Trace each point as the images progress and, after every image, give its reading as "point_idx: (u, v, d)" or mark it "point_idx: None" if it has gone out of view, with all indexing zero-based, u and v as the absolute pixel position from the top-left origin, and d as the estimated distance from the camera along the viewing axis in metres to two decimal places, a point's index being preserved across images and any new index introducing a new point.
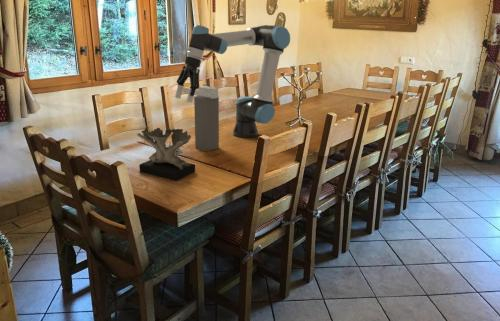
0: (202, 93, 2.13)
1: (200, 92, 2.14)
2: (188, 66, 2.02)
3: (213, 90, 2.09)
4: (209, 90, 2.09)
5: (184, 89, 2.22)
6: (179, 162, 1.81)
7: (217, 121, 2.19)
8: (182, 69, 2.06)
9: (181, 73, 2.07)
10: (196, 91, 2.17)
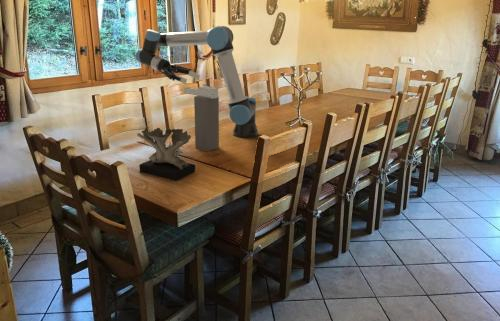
0: (202, 93, 2.13)
1: (200, 92, 2.14)
2: None
3: (213, 90, 2.09)
4: (209, 90, 2.09)
5: (184, 89, 2.22)
6: (179, 162, 1.81)
7: (217, 121, 2.19)
8: (177, 69, 2.35)
9: None
10: (196, 91, 2.17)
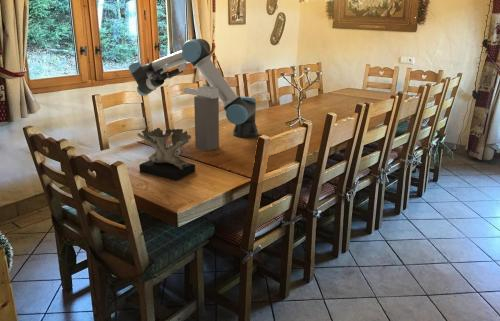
0: (202, 93, 2.13)
1: (200, 92, 2.14)
2: (162, 79, 2.36)
3: (213, 90, 2.09)
4: (209, 90, 2.09)
5: (184, 89, 2.22)
6: (179, 162, 1.81)
7: (217, 121, 2.19)
8: (171, 77, 2.39)
9: (173, 75, 2.37)
10: (196, 91, 2.17)
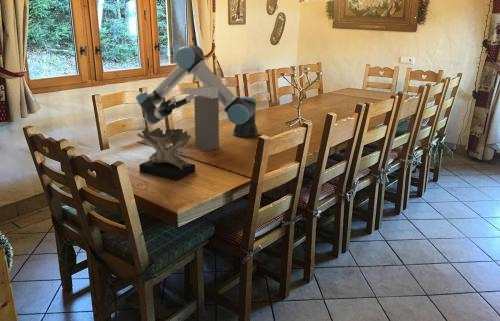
0: (202, 93, 2.13)
1: (200, 92, 2.14)
2: (170, 109, 2.38)
3: (213, 90, 2.09)
4: (209, 90, 2.09)
5: (184, 89, 2.22)
6: (179, 162, 1.81)
7: (217, 121, 2.19)
8: (179, 106, 2.40)
9: (181, 105, 2.39)
10: (196, 91, 2.17)
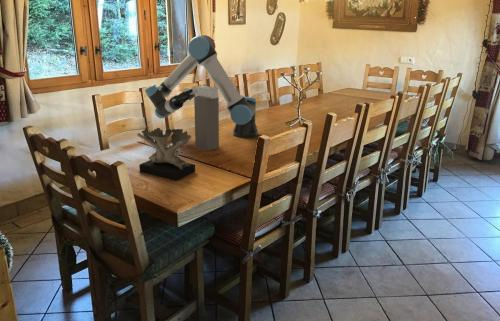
0: (202, 93, 2.13)
1: (200, 92, 2.13)
2: (181, 102, 2.31)
3: (213, 90, 2.09)
4: (209, 90, 2.09)
5: (184, 89, 2.22)
6: (179, 162, 1.81)
7: (217, 121, 2.19)
8: (191, 98, 2.31)
9: (191, 97, 2.29)
10: (196, 91, 2.17)
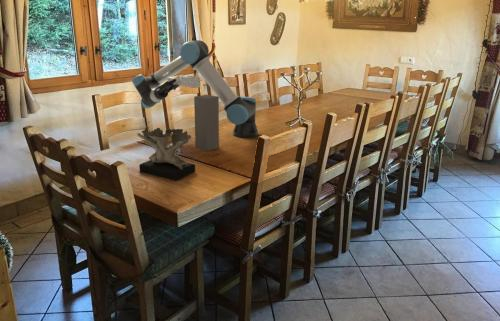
0: (185, 82, 2.19)
1: (183, 82, 2.20)
2: (166, 92, 2.38)
3: (195, 79, 2.16)
4: (191, 79, 2.15)
5: (168, 79, 2.29)
6: (179, 162, 1.81)
7: (217, 121, 2.19)
8: (175, 88, 2.37)
9: (176, 87, 2.35)
10: (179, 81, 2.23)
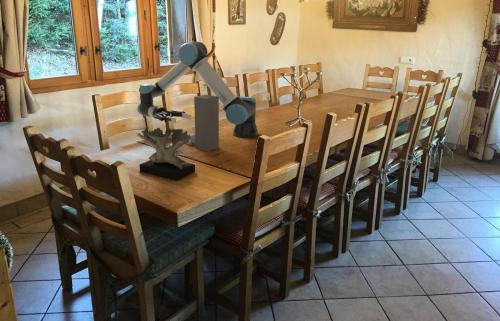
0: None
1: None
2: None
3: (192, 137, 2.28)
4: None
5: None
6: (179, 162, 1.81)
7: (217, 121, 2.19)
8: None
9: None
10: None
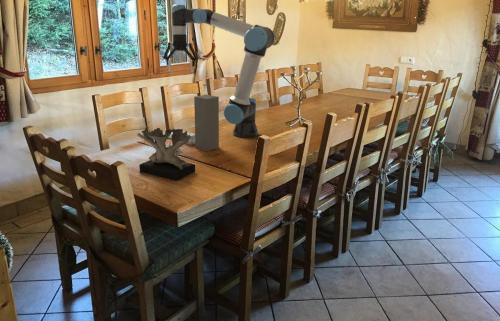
0: None
1: None
2: None
3: (192, 137, 2.28)
4: None
5: None
6: (179, 162, 1.81)
7: (217, 121, 2.19)
8: (192, 46, 2.35)
9: None
10: None
